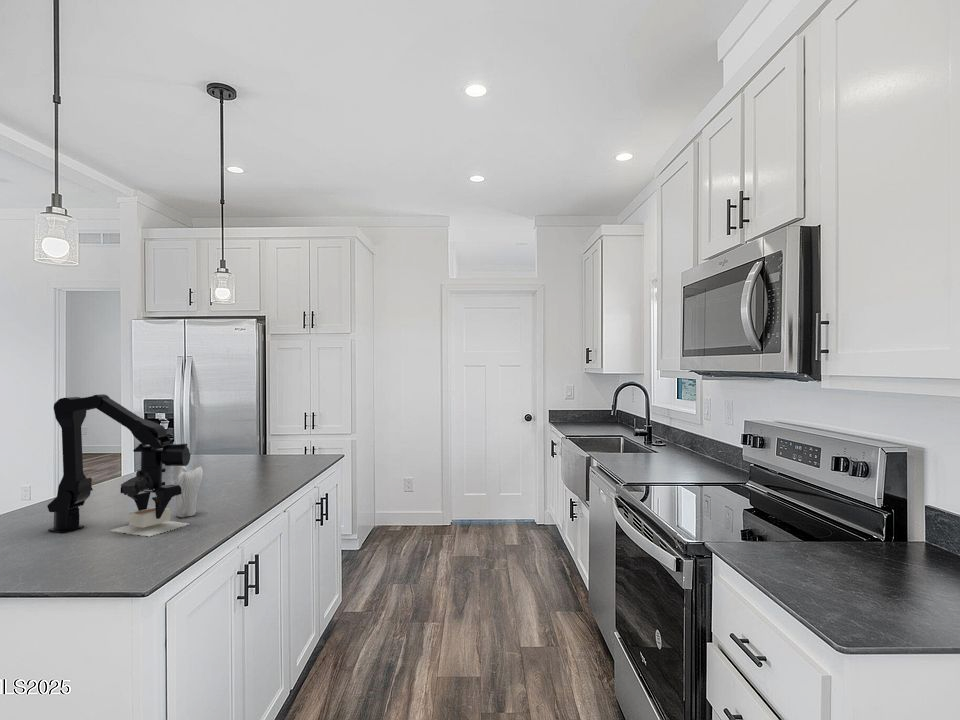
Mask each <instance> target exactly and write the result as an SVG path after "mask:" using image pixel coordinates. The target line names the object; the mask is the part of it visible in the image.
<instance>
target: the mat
mask: <svg viewBox="0 0 960 720" xmlns="http://www.w3.org/2000/svg"><path fill="white" fill-rule="evenodd" d="M187 525H188V526H190V523H188V522H178V521H173V520H172V521H171V520H170V521H166V522H162V523H159V524H155V525H151V526H147V527H143V528H142V527H137V526H131V525H129V524H128V525H123V526H120V527H116V528H113V529H112V528H111V529H109V532H111V533H116V532H117V534H123V533H126V534H125V535H130V534H132V536H137V535H140V537H145V536H148V537H147V538H151V537H150V536H152V537H154V536H153V535H155V536H157V535H156V534H158V535H161V534H160V533H162V534H165V533H167V531H168V532H171V531H174V529H175V530H178V529H181V528H184V527H187ZM180 527H181V528H180ZM177 528H178V529H177ZM170 530H171V531H170ZM164 532H165V533H164Z"/></svg>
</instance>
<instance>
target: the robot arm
mask: <svg viewBox="0 0 960 720" xmlns="http://www.w3.org/2000/svg"><path fill="white" fill-rule="evenodd" d="M94 409H97V410H98V411H99V412H102V413H103V414H104V415H106V416H108V417H109V418H111V419H112V420H114V421H115V422H117V423H119V424H120V425H122V426H123V427H125V428H126V429H128V430H129V431H130V432H131V434H132V436H133V437H134V438H135V439H136V440H137V441H139V442H140V443H139V444H138V445H137V446H136V447H135V448H134V449H133V450H132V451H133V452H134V453H140V469H139V470H137V471H136V472H135V474H136V475H135V476H134V477H132V478H131V477H130V479H128V480H126V481H124V482H123V483H122V484H120V494H123V495H124V496H127V497H129V498H130V499H132V500H134V503H135V506H136V508H137V511H140V510H145V509H148V507H149V506H148V505H149V500H150V496H151V493H154V494H155V496H153V497H151V500H153V502H154V504H155V505H154V507H155V508H156V519H159V518H161V516H162V514H163V512H164V510H165V508H167V506H168V505H169V503H170V502H171V499H172V498H173V497H176V495H180V494H181V492H182V488H181V487H180V486H179V485H175V484H167V485H166V481H163V473H166V471H167V470H166V468H163V465H164V466H165V467H173V466H184V467H187V466H189V463H190V461H191V453H190V449H189V447H188V443H174V442H173V441H172V440H171V438H170V437H169V435H168V434H167V429H166V428H165V427H164V426H163V425H162V424H159V423H157V422H154V421H153V420H149V419H145V418H142V417H140V416H138V415H137V414H135V413H134V412H133V411H131V410H129V409H128V408H126V407H125V406H123V405H122V404H120V403H118V402H116V401H115V400H114V399H112V398H110V396H109V395H107V394H104V393H103V394H94V395H91V396H85V397H81V396H72V397H70V396H68V397H63V398H62V397H61V398H59V399H58V400H57V401H55V402H54V404H53V413H54V416H55V420H56V422H57V423H58V424H59V426H60V428H61V442H62V443H61V444H62V447H61V448H62V469H63V470H62V471H63V475H62V478H61V480H60V482H59V483H58V486H57V492H56V493H57V494H56V497H55V498H54V499H53V500H51V502H49V503H48V504H47V509H48V512H49V513H53V527H51V528H49V529H47V530H48V532H55V533H61V534H64V533H67V532H71V531H75V530H79V529H83V528H85V526H84V525H82V524H80V508H79V507H81V506H84V505H85V503H86V501H87V499H89V497H90V495H91V491H94V489H93V487H92V481H93V478H92V476H91V477H87V476H86V475H85V473H84V467H83V466H84V465H83V463H84V462H83V441H82V440H83V436H82V435H83V434H82V425H83V423H84V421H85V419H86V418H87V411H90V410H94Z"/></svg>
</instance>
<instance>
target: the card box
mask: <svg viewBox="0 0 960 720" xmlns="http://www.w3.org/2000/svg"><path fill="white" fill-rule="evenodd" d="M171 516H172V515H171V508H168V507H166V508H165V510H164V512H163V514H162V516H161V518H159V519H156V508H155V506H154V507H149V508H147V509H145V510H140V511H138V510H137V511H132V512H129V517H128V518H129V520H128V525H131V526H137V527H142V528H143V527H147V526H151V525H155V524H159V523H162V522H166V521H171Z"/></svg>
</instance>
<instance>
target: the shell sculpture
mask: <svg viewBox="0 0 960 720" xmlns="http://www.w3.org/2000/svg"><path fill="white" fill-rule="evenodd" d="M171 473H172V474H171V475H172V480H173V481H174V485H179V486H180V487H181V488H182V492H181V494H180V495H176V496H175V510H174V513H175V515H176V516H177V517H179V518H186V517H187V518H188V517H192V516H194V515H195V514H196V511H197V510H196V509H197V496H198V492H199V489H200V487H201V484H202V479H203V477H204V476H203V474H204V470H203V468H202V466H201V465H200V466H197V467H196V468H194V469H193V470H190V469H187V468H186V466H172V470H171Z"/></svg>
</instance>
